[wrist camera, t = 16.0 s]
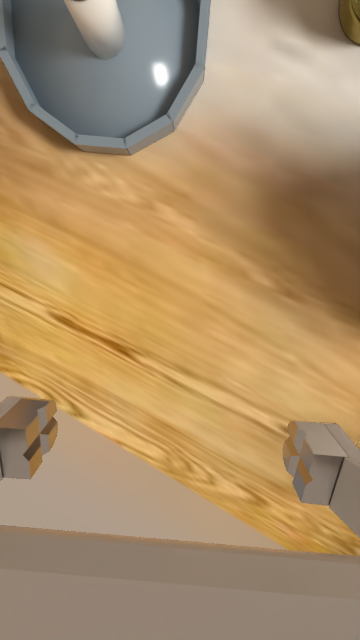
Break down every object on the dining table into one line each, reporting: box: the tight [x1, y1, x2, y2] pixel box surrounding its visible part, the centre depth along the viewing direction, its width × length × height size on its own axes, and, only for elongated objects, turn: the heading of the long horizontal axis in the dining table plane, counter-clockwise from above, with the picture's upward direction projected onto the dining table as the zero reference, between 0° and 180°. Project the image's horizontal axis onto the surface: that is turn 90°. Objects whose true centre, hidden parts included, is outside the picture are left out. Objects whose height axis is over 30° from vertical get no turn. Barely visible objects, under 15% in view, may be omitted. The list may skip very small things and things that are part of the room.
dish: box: [0, 0, 211, 156], centre depth 28 cm, size 22×22×2 cm
